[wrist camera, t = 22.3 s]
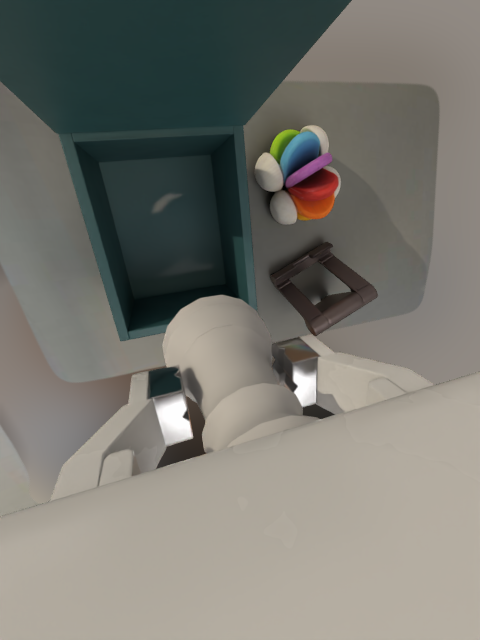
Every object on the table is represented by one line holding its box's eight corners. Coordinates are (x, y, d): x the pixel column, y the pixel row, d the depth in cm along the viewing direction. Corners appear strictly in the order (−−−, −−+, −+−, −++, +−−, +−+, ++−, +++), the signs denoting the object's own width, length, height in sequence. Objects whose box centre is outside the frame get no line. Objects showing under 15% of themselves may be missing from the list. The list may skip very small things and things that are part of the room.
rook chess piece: (183, 398, 13) (219, 629, 6) (144, 313, 11) (128, 503, 4) (271, 362, 14) (400, 532, 7) (249, 277, 12) (396, 384, 5)
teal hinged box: (231, 287, 36) (257, 314, 27) (129, 304, 33) (120, 341, 24) (215, 146, 30) (242, 120, 21) (88, 154, 27) (56, 128, 18)
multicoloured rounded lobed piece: (276, 234, 35) (304, 241, 29) (241, 155, 31) (265, 142, 25) (332, 200, 36) (372, 198, 29) (305, 117, 31) (345, 94, 25)
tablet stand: (324, 240, 37) (366, 248, 30) (341, 288, 41) (382, 307, 34) (268, 274, 37) (297, 291, 30) (290, 320, 41) (321, 346, 33)
